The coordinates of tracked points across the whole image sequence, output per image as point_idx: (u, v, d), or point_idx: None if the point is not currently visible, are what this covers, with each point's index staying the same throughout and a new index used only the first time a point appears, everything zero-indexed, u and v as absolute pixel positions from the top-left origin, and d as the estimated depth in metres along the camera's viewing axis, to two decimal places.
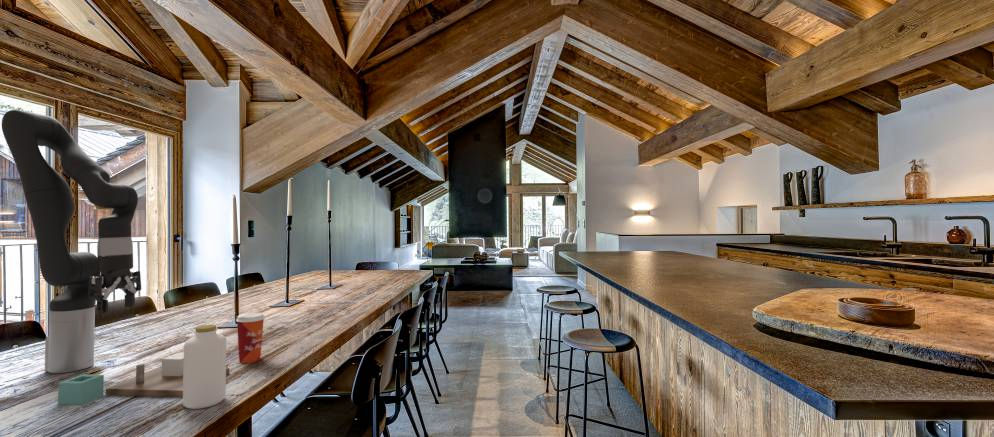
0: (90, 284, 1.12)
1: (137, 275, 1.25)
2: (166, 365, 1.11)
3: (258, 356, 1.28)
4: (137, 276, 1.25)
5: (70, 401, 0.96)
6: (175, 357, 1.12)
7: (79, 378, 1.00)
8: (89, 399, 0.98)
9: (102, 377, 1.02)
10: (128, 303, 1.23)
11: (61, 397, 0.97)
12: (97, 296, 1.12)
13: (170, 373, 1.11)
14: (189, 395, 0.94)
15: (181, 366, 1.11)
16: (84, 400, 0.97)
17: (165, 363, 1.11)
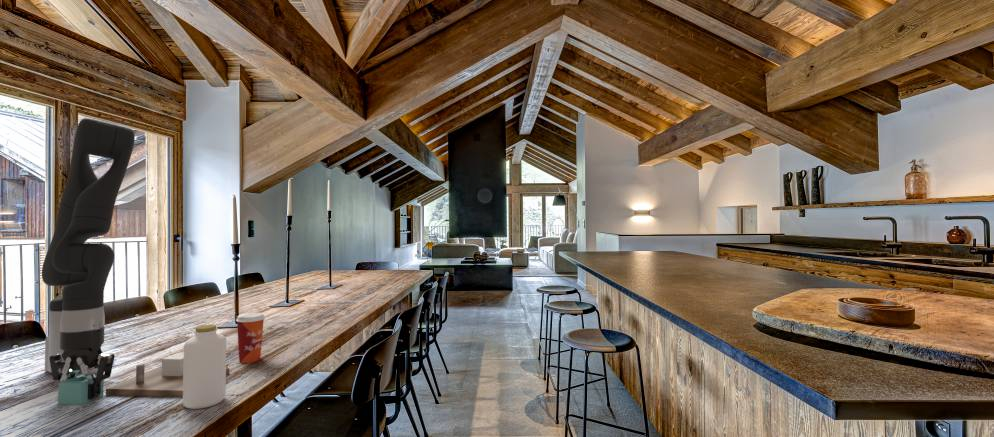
0: (105, 365, 0.98)
1: None
2: (166, 365, 1.11)
3: (258, 356, 1.28)
4: None
5: (70, 401, 0.97)
6: (175, 357, 1.12)
7: (79, 378, 1.00)
8: None
9: None
10: None
11: (61, 397, 0.97)
12: None
13: (170, 373, 1.11)
14: (189, 395, 0.94)
15: (181, 366, 1.11)
16: (84, 400, 0.97)
17: (165, 363, 1.11)
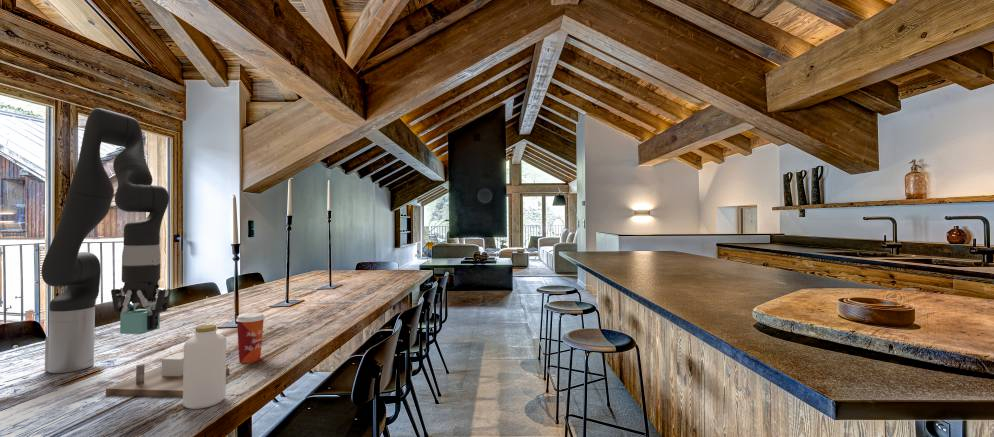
0: (163, 298, 1.05)
1: None
2: (166, 365, 1.11)
3: (258, 356, 1.28)
4: None
5: (131, 330, 1.03)
6: (175, 357, 1.12)
7: (138, 311, 1.07)
8: (148, 330, 1.05)
9: None
10: None
11: (122, 326, 1.03)
12: None
13: (170, 373, 1.11)
14: (189, 395, 0.94)
15: (181, 366, 1.11)
16: (144, 330, 1.04)
17: (165, 363, 1.11)
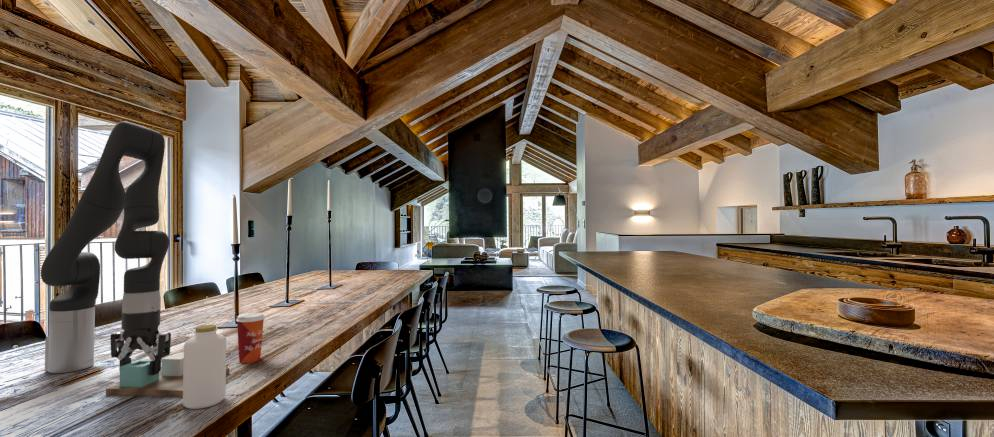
0: (164, 342, 1.05)
1: None
2: (166, 365, 1.11)
3: (258, 356, 1.28)
4: None
5: (131, 384, 1.03)
6: (175, 357, 1.12)
7: (137, 363, 1.07)
8: (147, 382, 1.05)
9: None
10: None
11: (122, 380, 1.03)
12: None
13: (170, 373, 1.11)
14: (189, 395, 0.94)
15: (181, 366, 1.11)
16: (143, 383, 1.04)
17: (165, 363, 1.11)
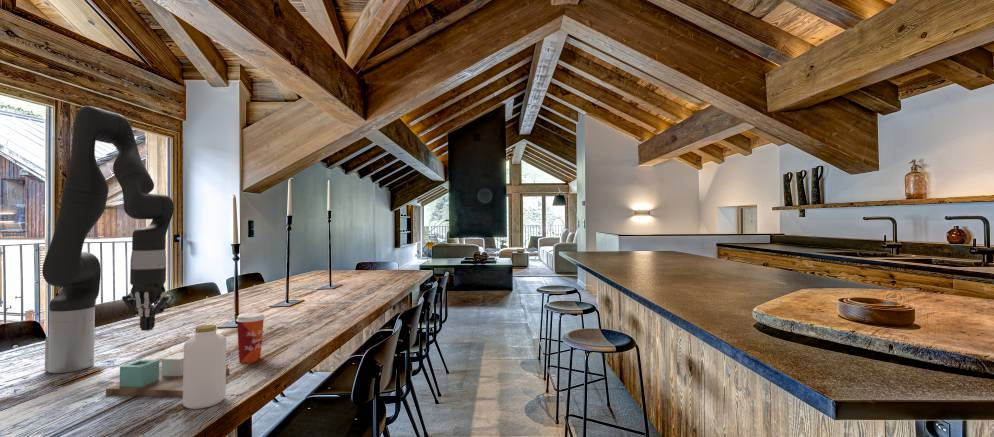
0: (164, 304, 1.13)
1: None
2: (166, 365, 1.11)
3: (258, 356, 1.28)
4: None
5: (131, 384, 1.03)
6: (175, 357, 1.12)
7: (137, 363, 1.07)
8: (147, 382, 1.05)
9: (158, 362, 1.08)
10: None
11: (122, 380, 1.03)
12: None
13: (170, 373, 1.11)
14: (189, 395, 0.94)
15: (181, 366, 1.11)
16: (143, 383, 1.04)
17: (165, 363, 1.11)
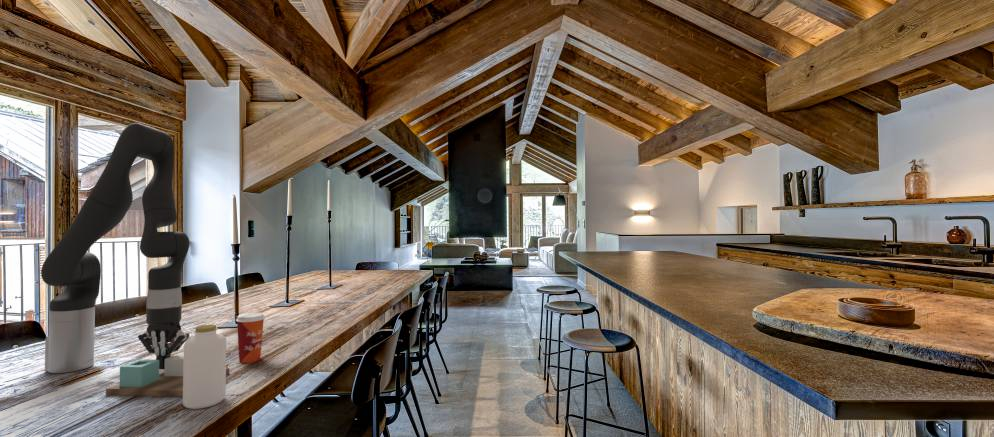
0: (180, 342, 1.13)
1: None
2: (169, 365, 1.11)
3: (258, 356, 1.28)
4: None
5: (131, 384, 1.03)
6: (178, 357, 1.12)
7: (137, 363, 1.07)
8: (147, 382, 1.05)
9: (158, 362, 1.08)
10: None
11: (122, 380, 1.03)
12: None
13: (172, 373, 1.11)
14: (189, 395, 0.94)
15: None
16: (143, 383, 1.04)
17: (168, 363, 1.11)
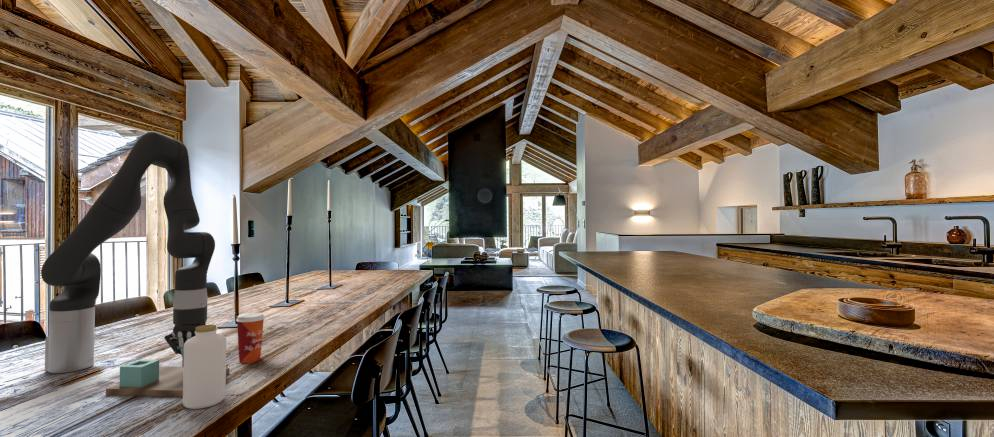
0: None
1: None
2: None
3: (258, 356, 1.28)
4: None
5: (131, 384, 1.03)
6: None
7: (137, 363, 1.07)
8: (147, 382, 1.05)
9: (158, 362, 1.08)
10: None
11: (122, 380, 1.03)
12: None
13: None
14: (189, 395, 0.94)
15: None
16: (143, 383, 1.04)
17: None
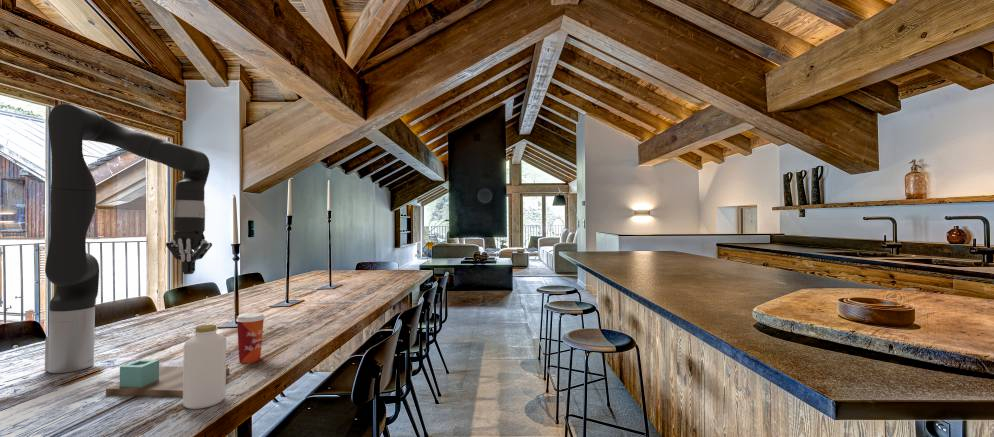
0: (204, 250, 1.23)
1: None
2: None
3: (258, 356, 1.28)
4: None
5: (131, 384, 1.03)
6: None
7: (137, 363, 1.07)
8: (147, 382, 1.05)
9: (158, 362, 1.08)
10: None
11: (122, 380, 1.03)
12: None
13: None
14: (189, 395, 0.94)
15: None
16: (143, 383, 1.04)
17: None
